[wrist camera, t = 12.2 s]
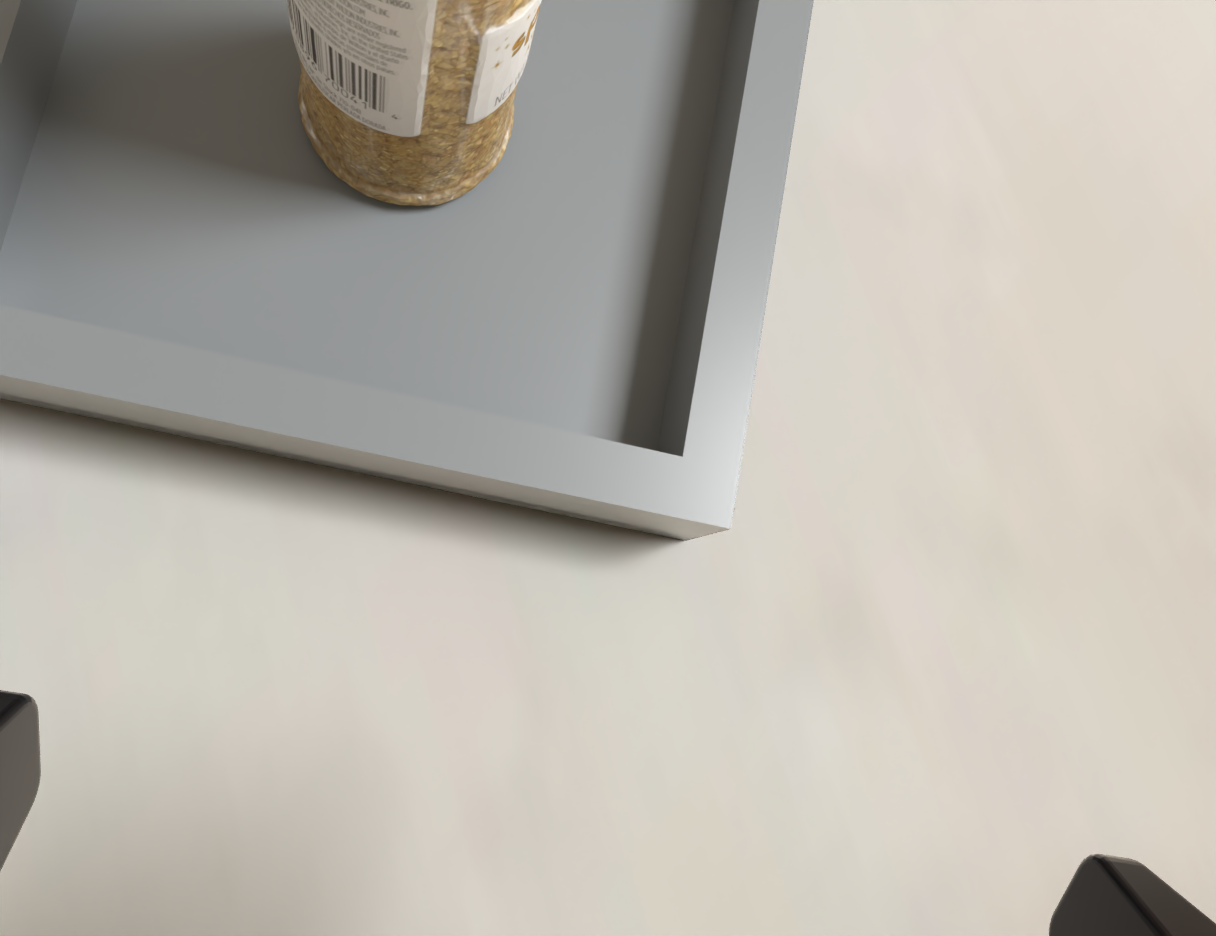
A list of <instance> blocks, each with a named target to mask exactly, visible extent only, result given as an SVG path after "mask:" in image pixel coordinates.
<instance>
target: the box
mask: <svg viewBox="0 0 1216 936" xmlns="http://www.w3.org/2000/svg"><path fill="white" fill-rule="evenodd" d="M813 1H814V0H542V1H541V5H540V9H539V13H538V17H537V21H536V26H535V30H534V34H533V38H532V42H531V47H530V51H529V55H528V59H527V62H526V65H525V68H524V70H523V73H522V75H521V77H520V79H519V81H518V83H517V88H516V93H515V98H514V120H513V127H512V132H511V137H510V139H509V142H508V144H507V147H506V150H505V152H504V155H503V157H502V158H501V160H500V162H499V163H498V165H497V166H496V168H495V169H494V170H493V171H492V172H491V173H490V174H489V175H488V176H487V177H486V178H485V179H484V180H482V181H481V182H479V183H478V185H477V186H476V187H475V188H473V189H472V190H471V191H469V192H467V193H465V194H464V195H462V196H460V197H458V198H456V199H453V200H450V201H448V202H446V203H443V204H440V205H431V206H430V205H424V206H413V205H398V204H393V203H387V202H383V201H380V200H377V199H375V198H372V197H368V196H366V195H364V194H362V193H360V192H358V191H356V190H355V189H354V188H352V187H351V186H350V185H348V184H347V183H346V182H344V181H343V180H341V179H339V178H338V177H337V176H336V175H335V174H334V173H333V172H332V171H331V170H329V168H328V167H327V166H326V164H325V162H324V160H323V159H322V158H321V157H320V156H319V155H318V154H317V153H316V151H315V150H314V148H313V146H312V143H311V140H310V139H309V137H308V136H307V134H306V132H305V130H304V127H303V123H302V119H301V114H300V108H299V100H298V92H299V82H300V74H301V66H300V60H299V55H298V52H297V49H296V46H295V43H294V40H293V36H292V33H291V27H290V21H289V14H288V8H287V1H286V0H0V398H1V399H6V400H10V401H15V402H20V403H25V404H30V405H34V406H39V407H44V408H49V409H54V410H59V411H63V412H68V413H73V414H78V415H83V416H88V417H92V418H97V419H102V420H107V421H112V422H117V423H121V424H126V425H131V426H136V427H141V428H145V429H150V430H155V431H160V432H165V433H170V434H174V435H179V436H184V437H189V438H194V439H199V440H203V441H208V442H213V443H218V444H223V445H228V446H232V447H237V448H242V449H247V450H252V451H256V452H261V453H266V454H271V455H276V456H281V457H285V458H290V459H295V460H300V461H305V462H310V463H314V464H319V465H324V466H329V467H334V468H339V469H343V470H348V471H353V472H358V473H363V474H367V475H372V476H377V477H382V478H387V479H392V480H396V481H401V482H406V483H411V484H416V485H421V486H425V487H430V488H435V489H440V490H445V491H450V492H454V493H459V494H464V495H469V496H474V497H479V498H483V499H488V500H493V501H498V502H503V503H507V504H512V505H517V506H522V507H527V508H532V509H536V510H541V511H546V512H551V513H556V514H561V515H565V516H570V517H575V518H580V519H585V520H590V521H594V522H599V523H604V524H609V525H614V526H618V527H623V528H628V529H633V530H638V531H643V532H647V533H652V534H657V535H662V536H667V537H672V538H676V539H681V540H690V539H694V538H698V537H702V536H706V535H709V534H713V533H717V532H721V531H725V530H729V529H731V525H732V519H733V512H734V506H735V499H736V493H737V487H738V480H739V474H740V467H741V461H742V455H743V448H744V442H745V435H746V429H747V423H748V416H749V410H750V404H751V397H752V391H753V384H754V378H755V372H756V365H757V359H758V352H759V346H760V340H761V333H762V327H763V320H764V314H765V308H766V301H767V295H768V288H769V282H770V276H771V269H772V263H773V257H774V250H775V244H776V237H777V231H778V225H779V218H780V212H781V205H782V199H783V193H784V186H785V180H786V173H787V167H788V161H789V154H790V148H791V142H792V135H793V129H794V122H795V116H796V110H797V103H798V97H799V90H800V84H801V78H802V71H803V65H804V58H805V52H806V46H807V39H808V33H809V26H810V20H811V14H812V7H813Z"/></svg>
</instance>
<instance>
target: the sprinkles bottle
mask: <svg viewBox="0 0 1216 936" xmlns="http://www.w3.org/2000/svg"><path fill="white" fill-rule="evenodd" d="M286 1H287V8H288V14H289V21H290V27H291V33H292V36H293V40H294V43H295V46H296V49H297V52H298V55H299V60H300V66H301V74H300V82H299V92H298V100H299V108H300V114H301V119H302V123H303V127H304V130H305V132H306V134H307V136H308V137H309V139H310V140H311V143H312V146H313V148H314V150H315V151H316V153H317V154H318V155H319V156H320V157H321V158H322V159H323V160H324V162H325V164H326V166H327V167H328V168H329V170H331V171H332V172H333V173H334V174H335V175H336V176H337V177H338V178H339V179H341V180H343V181H344V182H346V183H347V184H348V185H350V186H351V187H352V188H354V189H355V190H356V191H358V192H360V193H362V194H364V195H366V196H368V197H372V198H375V199H377V200H380V201H383V202H387V203H393V204H398V205H413V206H424V205H430V206H431V205H440V204H443V203H446V202H448V201H450V200H453V199H456V198H458V197H460V196H462V195H464V194H465V193H467V192H469V191H471V190H472V189H473V188H475V187H476V186H477V185H478V183H479V182H481V181H482V180H484V179H485V178H486V177H487V176H488V175H489V174H490V173H491V172H492V171H493V170H494V169H495V168H496V166H497V165H498V163H499V162H500V160H501V158H502V157H503V155H504V152H505V150H506V147H507V144H508V142H509V139H510V137H511V132H512V127H513V120H514V98H515V93H516V88H517V83H518V81H519V79H520V77H521V75H522V73H523V70H524V68H525V65H526V62H527V59H528V55H529V51H530V47H531V42H532V38H533V34H534V30H535V26H536V21H537V17H538V13H539V9H540V5H541V1H542V0H286Z"/></svg>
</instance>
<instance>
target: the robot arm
mask: <svg viewBox="0 0 1216 936" xmlns="http://www.w3.org/2000/svg"><path fill="white" fill-rule="evenodd" d="M40 774H41V767H40V743H39V718H38V708H37V704H36V702H35V700H34V699H33V698H32V697H31V696H29V695H27V694H22V693H16V692H9V691H2V690H0V871H1V869H2V867H3V865H4V863H5V860H6V858H7V856H8V854H9V852H10V850H11V848H12V846H13V844H14V842H15V840H16V838H17V836H18V834H19V832H20V830H21V828H22V825H23V823H24V821H25V819H26V817H27V815H28V813H29V811H30V809H31V807H32V805H33V802H34V800H35V797H36V794H37V791H38V787H39V783H40ZM1049 936H1216V924H1215V923H1214V922H1213V921H1212V920H1210V919H1209V918H1208V917H1207V916H1206V915H1204V914H1203V913H1202V912H1201V911H1199V910H1198V909H1197V908H1196V907H1195V906H1193V905H1192V904H1191V903H1190V902H1188V901H1187V900H1186V899H1185V898H1184V897H1182V896H1181V895H1180V894H1179V893H1177V892H1176V891H1175V890H1174V889H1172V888H1171V887H1170V886H1169V885H1168V884H1166V883H1165V882H1164V881H1163V880H1161V879H1160V878H1159V877H1158V876H1157V875H1155V874H1154V873H1153V872H1152V871H1150V870H1149V869H1148V868H1147V867H1146V866H1144V865H1143V864H1141V863H1140V862H1138V861H1135V860H1132V859H1129V858H1122V857H1115V856H1109V855H1102V854H1094V855H1090V856H1088V857H1087V858H1086V859H1084V860H1083V861H1082V862H1081V864H1080V865H1079V867H1078V869H1077V871H1076V873H1075V875H1074V876H1073V878H1072V880H1071V882H1070V884H1069V886H1068V887H1067V889H1066V891H1065V893H1064V895H1063V897H1062V898H1061V900H1060V902H1059V904H1058V906H1057V908H1056V909H1055V911H1054V913H1053V916H1052V918H1051V923H1050V929H1049Z"/></svg>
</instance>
